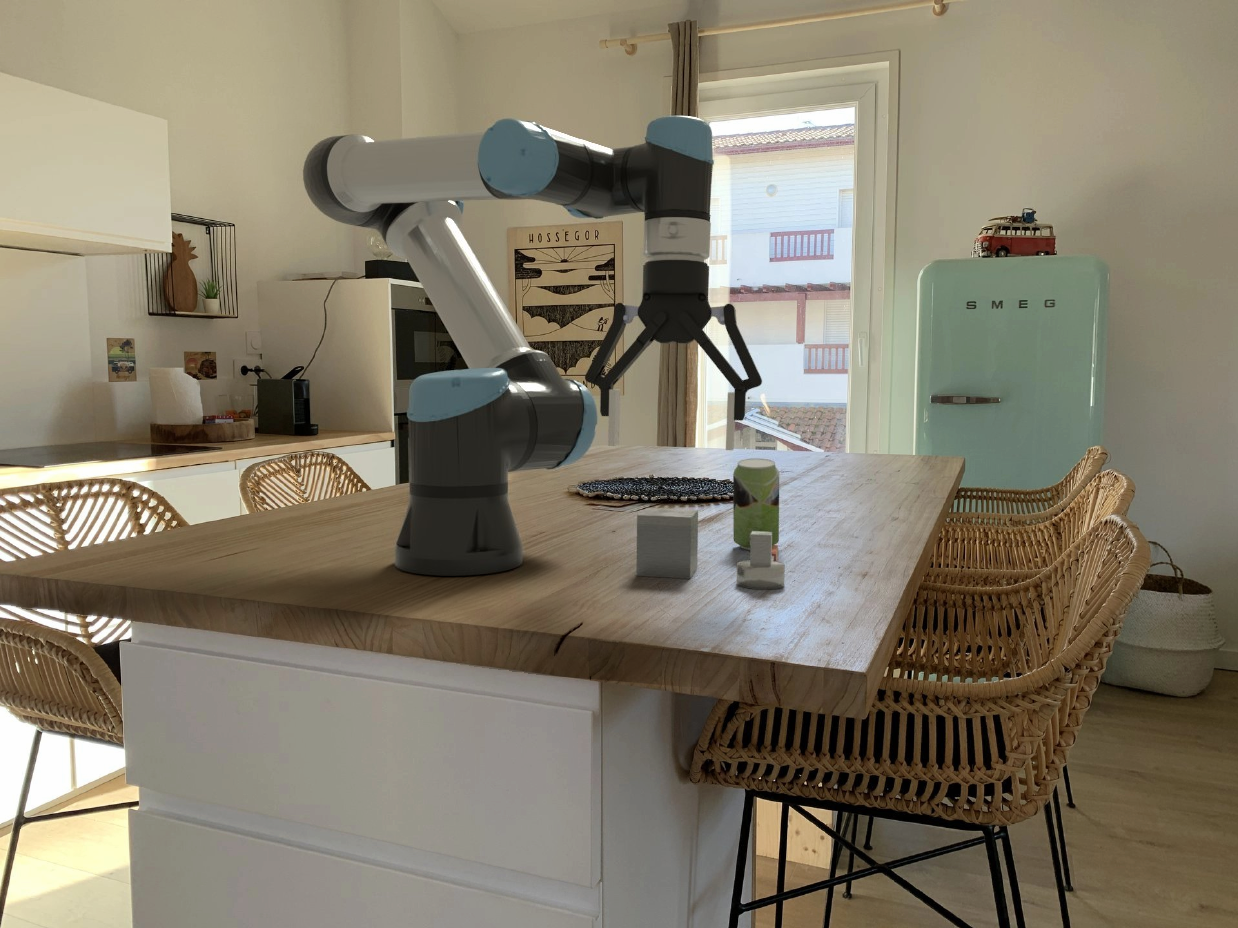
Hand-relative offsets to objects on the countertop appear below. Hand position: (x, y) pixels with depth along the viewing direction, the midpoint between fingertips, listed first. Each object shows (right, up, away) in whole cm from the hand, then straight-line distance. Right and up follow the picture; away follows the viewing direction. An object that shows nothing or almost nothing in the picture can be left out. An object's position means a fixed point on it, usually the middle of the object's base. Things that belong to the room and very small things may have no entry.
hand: (671, 447), depth 107 cm
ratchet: (+11, -15, 0) cm, 18 cm away
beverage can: (+12, -13, +17) cm, 25 cm away
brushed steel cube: (0, -15, +1) cm, 15 cm away
